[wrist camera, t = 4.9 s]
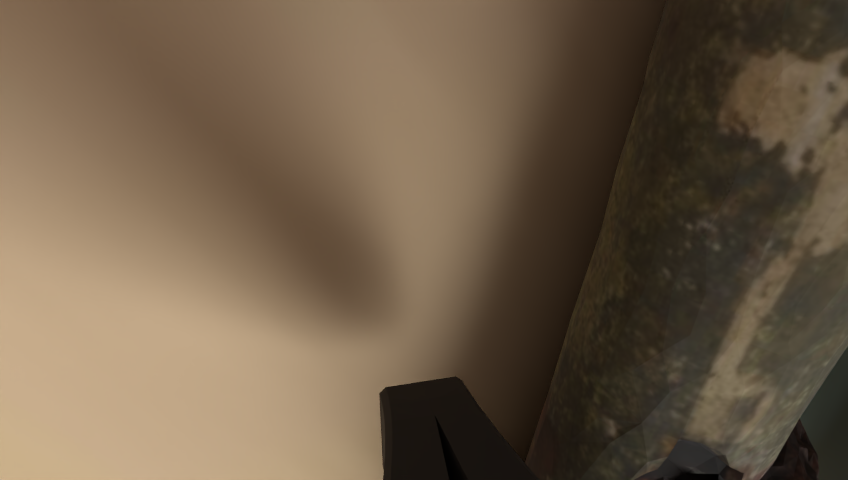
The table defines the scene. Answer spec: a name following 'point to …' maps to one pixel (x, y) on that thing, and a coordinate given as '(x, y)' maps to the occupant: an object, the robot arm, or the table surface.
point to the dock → (830, 422)
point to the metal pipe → (714, 257)
